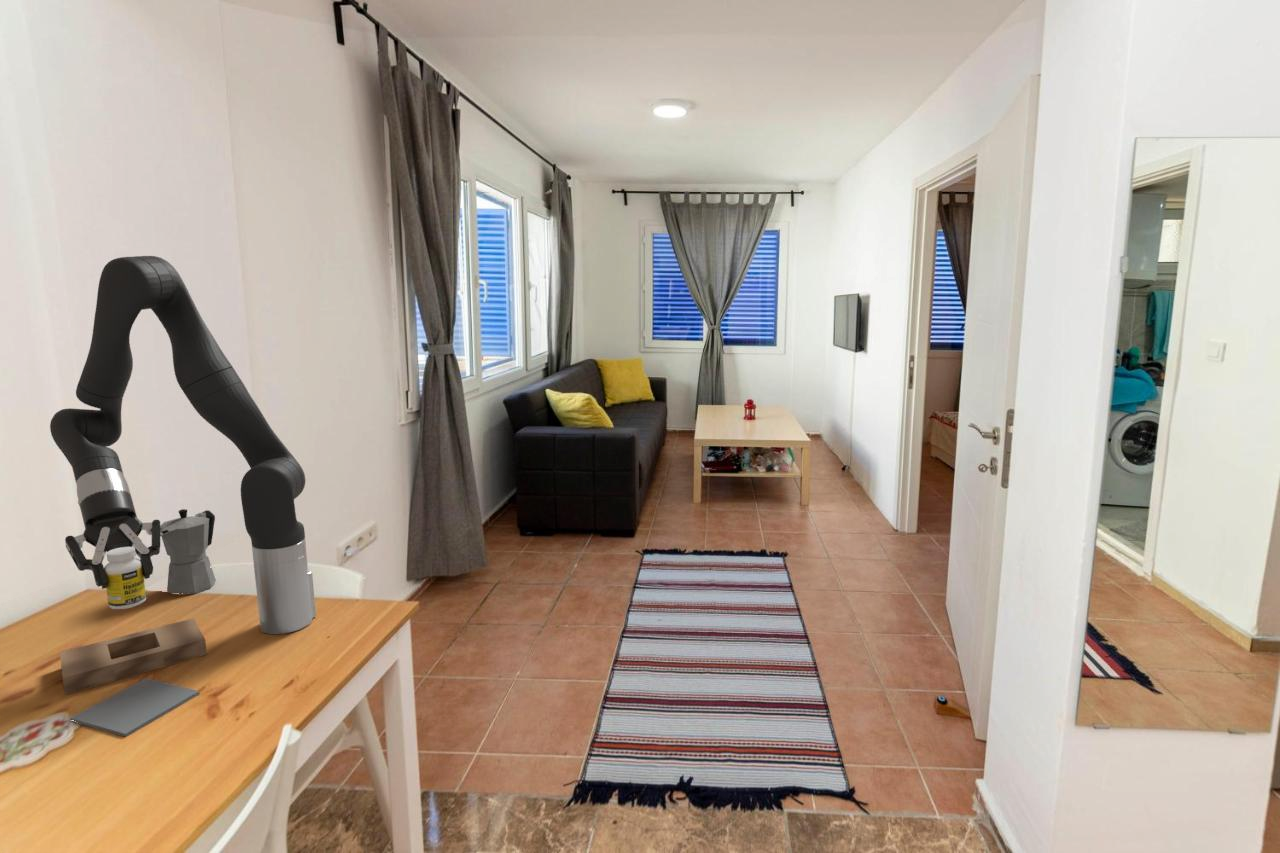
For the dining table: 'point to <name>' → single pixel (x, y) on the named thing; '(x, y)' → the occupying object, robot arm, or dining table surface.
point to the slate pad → (134, 706)
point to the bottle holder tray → (101, 666)
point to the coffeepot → (189, 552)
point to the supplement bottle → (124, 579)
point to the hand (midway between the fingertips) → (126, 581)
